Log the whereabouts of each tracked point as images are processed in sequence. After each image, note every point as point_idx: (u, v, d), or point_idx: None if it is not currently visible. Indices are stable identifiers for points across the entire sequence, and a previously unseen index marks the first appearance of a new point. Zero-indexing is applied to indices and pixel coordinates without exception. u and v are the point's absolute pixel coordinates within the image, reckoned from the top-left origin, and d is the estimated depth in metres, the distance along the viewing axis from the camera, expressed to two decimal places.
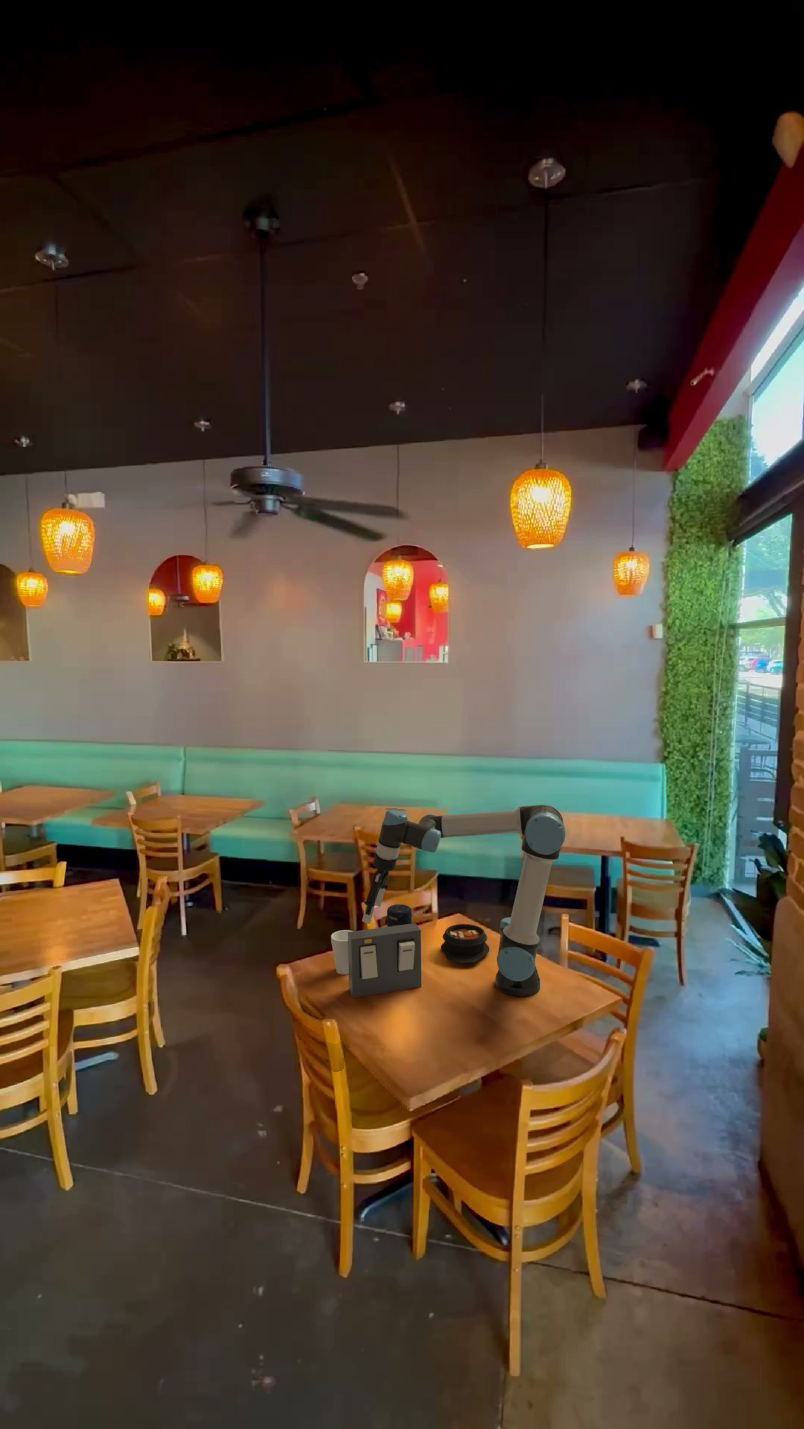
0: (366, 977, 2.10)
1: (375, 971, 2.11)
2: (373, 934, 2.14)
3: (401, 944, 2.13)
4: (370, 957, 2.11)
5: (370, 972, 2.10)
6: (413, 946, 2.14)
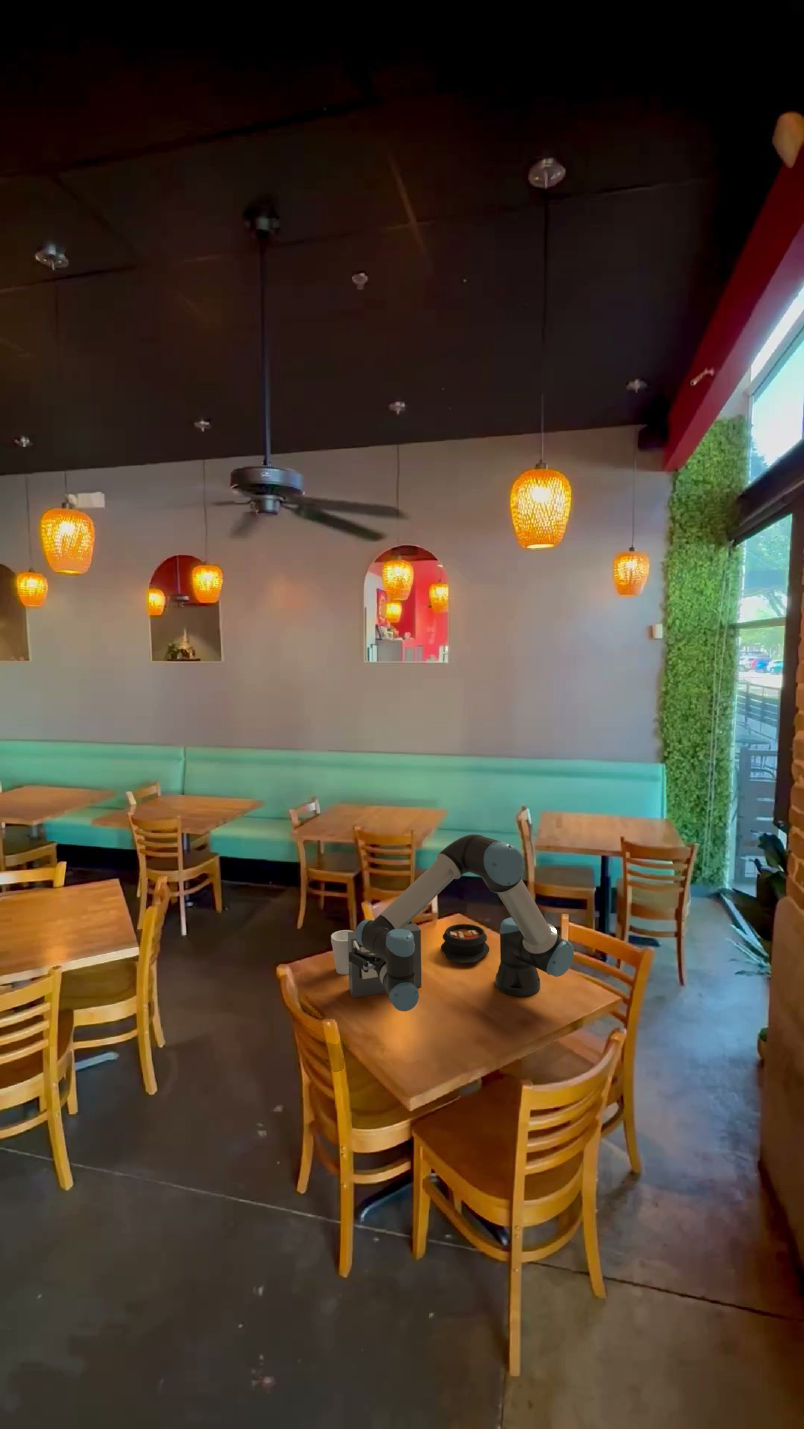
0: (366, 977, 2.10)
1: (375, 971, 2.11)
2: None
3: None
4: None
5: (370, 972, 2.10)
6: None
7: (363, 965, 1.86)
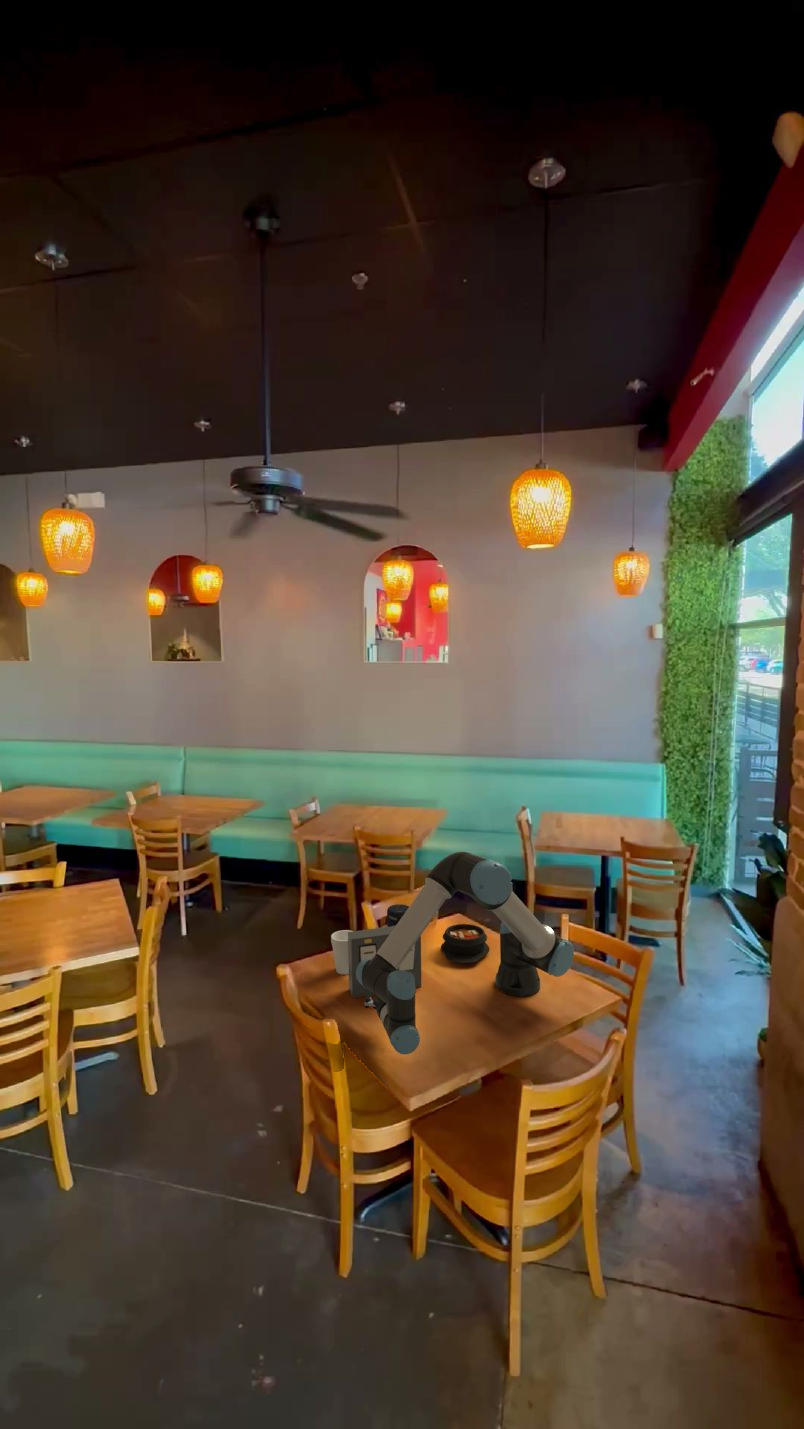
0: None
1: None
2: (373, 934, 2.14)
3: None
4: (370, 957, 2.11)
5: None
6: (413, 946, 2.14)
7: None
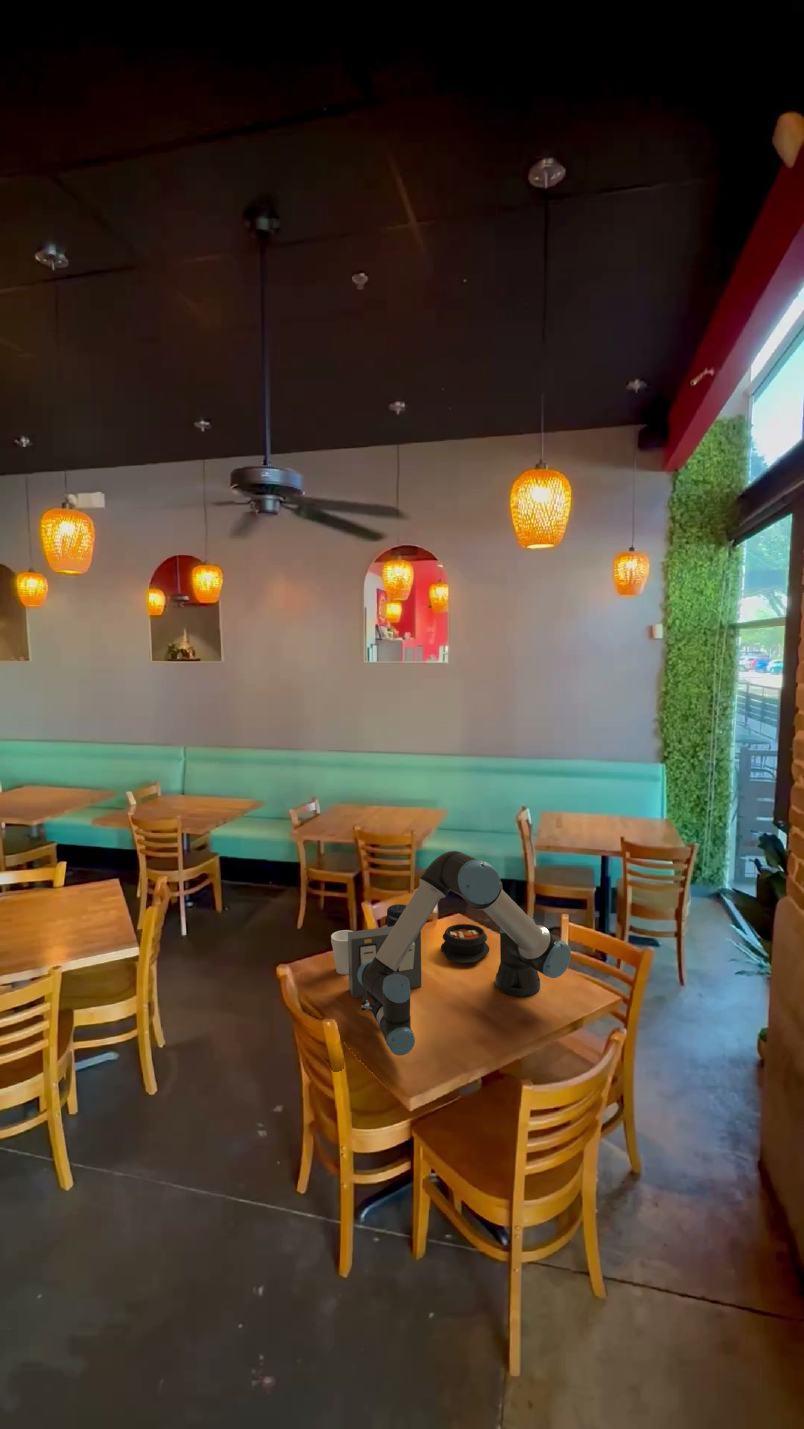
0: None
1: None
2: (373, 934, 2.14)
3: None
4: (370, 957, 2.11)
5: None
6: (413, 946, 2.14)
7: None
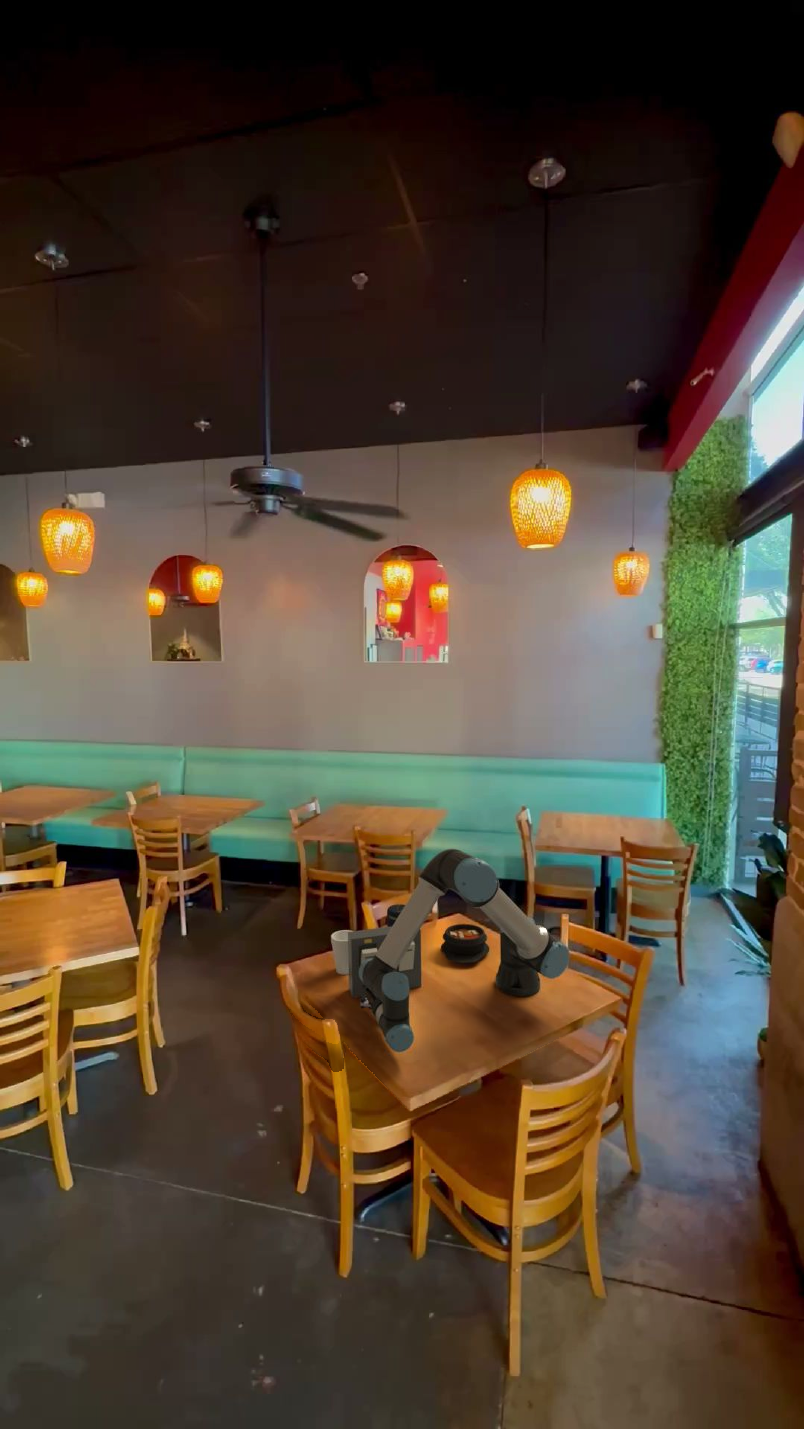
0: None
1: None
2: (373, 934, 2.14)
3: None
4: None
5: None
6: (413, 946, 2.14)
7: None
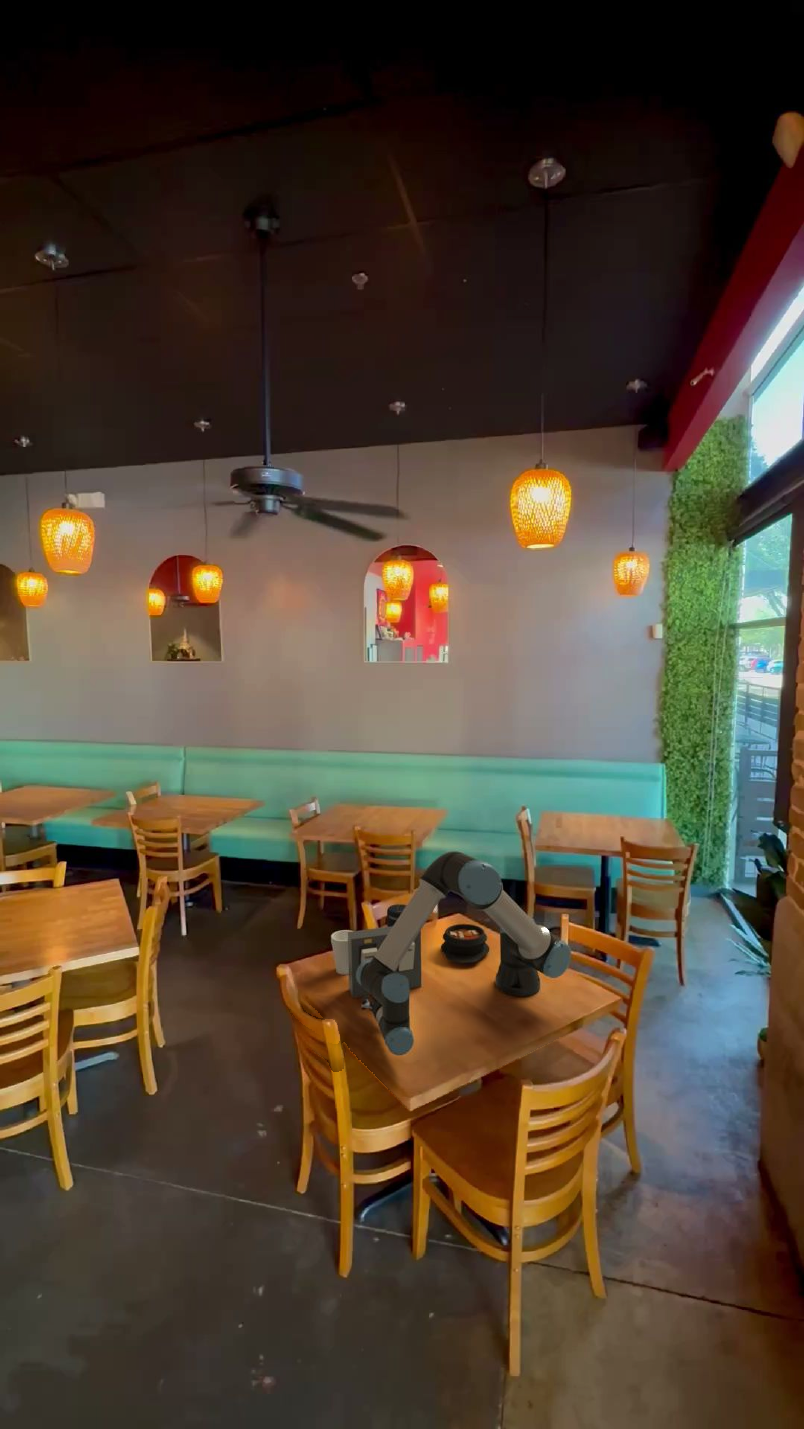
0: None
1: None
2: (373, 934, 2.14)
3: None
4: None
5: None
6: (413, 946, 2.14)
7: None
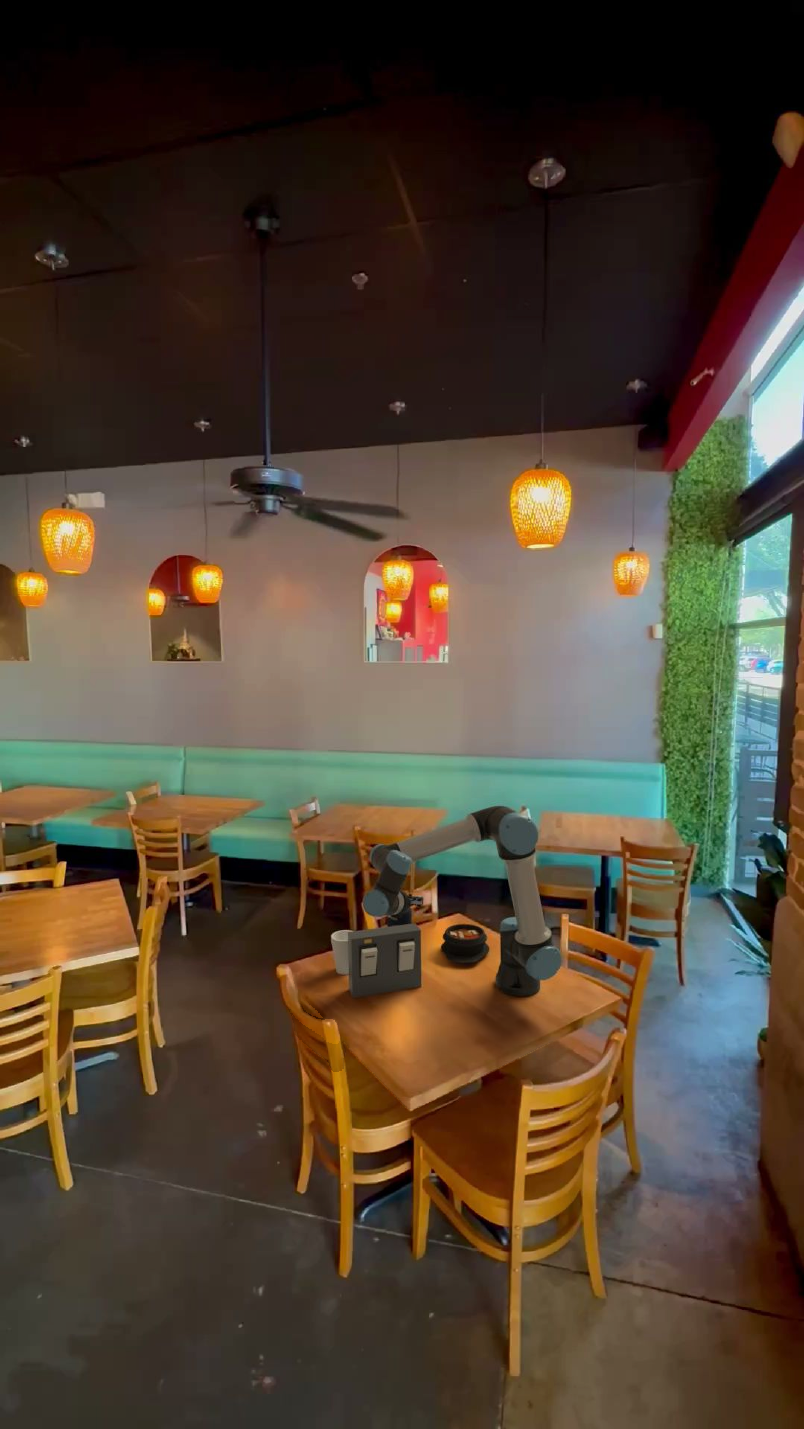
0: (364, 974, 2.12)
1: (374, 970, 2.13)
2: (373, 934, 2.14)
3: (401, 944, 2.13)
4: (371, 960, 2.10)
5: (369, 970, 2.12)
6: (413, 946, 2.14)
7: None
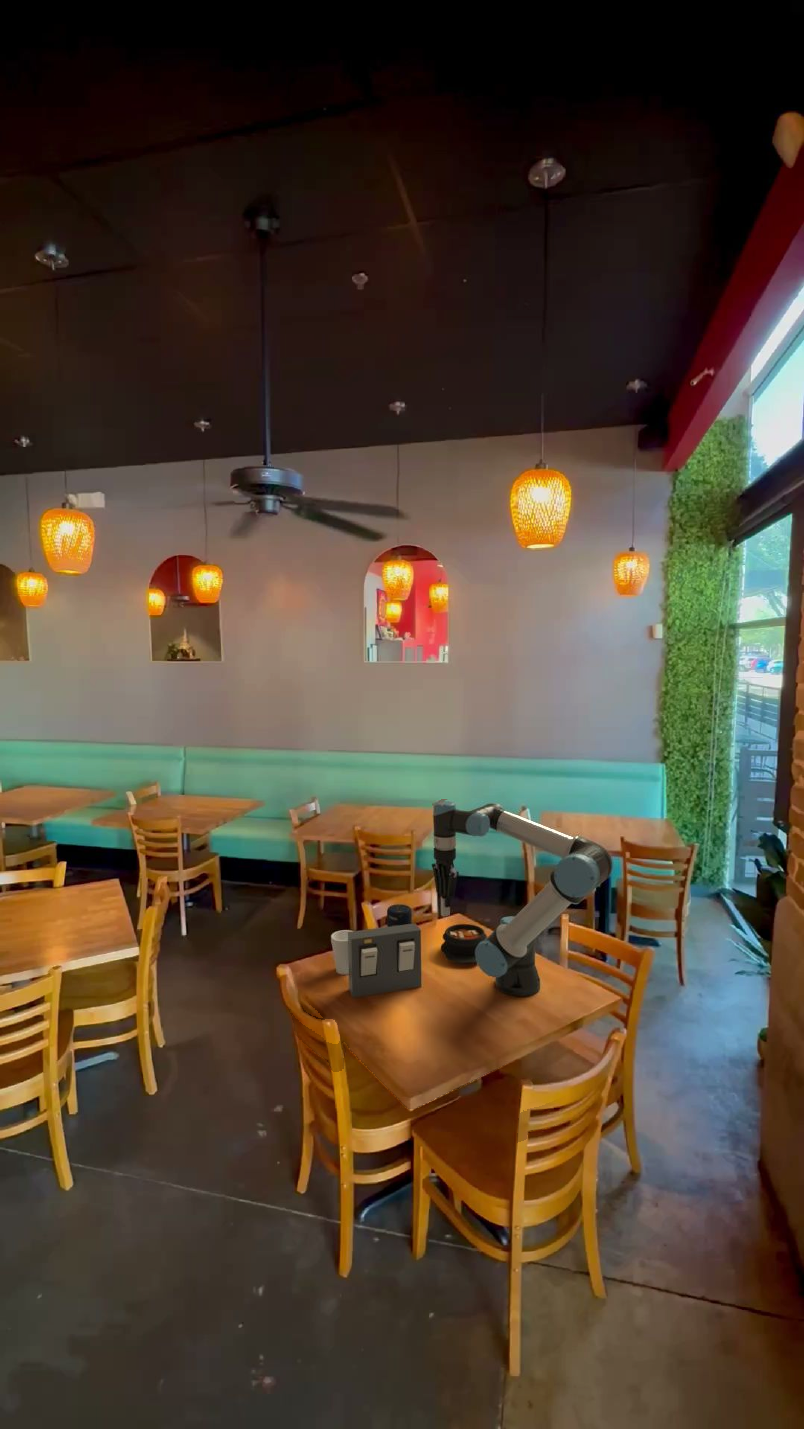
0: (364, 974, 2.12)
1: (374, 970, 2.13)
2: (373, 934, 2.14)
3: (401, 944, 2.13)
4: (371, 960, 2.10)
5: (369, 970, 2.12)
6: (413, 946, 2.14)
7: None
